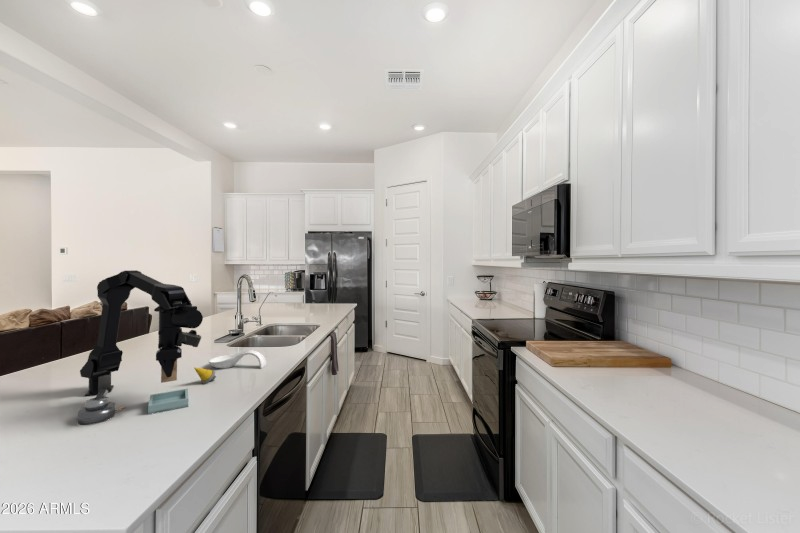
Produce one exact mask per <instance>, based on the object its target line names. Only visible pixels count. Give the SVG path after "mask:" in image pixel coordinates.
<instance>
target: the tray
mask: <svg viewBox="0 0 800 533" xmlns="http://www.w3.org/2000/svg"><path fill="white" fill-rule="evenodd" d="M188 407H189V389H188V388H182V389H176V390H170V391H165V392H164V391H163V392H160V393H153V394H150V395H149V399H148V407H147V415H148V414H149V415H152V413H154V414H158V413H157V412H159V413H163V411H164V412H168V411H173V410H179V409H183V408H188Z"/></svg>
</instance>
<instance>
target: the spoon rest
mask: <svg viewBox="0 0 800 533" xmlns="http://www.w3.org/2000/svg"><path fill="white" fill-rule="evenodd" d="M247 355H250V356H253V357H256V359H257V360H258V362H259V369H264V367H266V366H267V361H266V360H267V359H266V358H265V356H264V355H263V354H262V353H260V352H258V351H256V350H252V349H251V350H245V351H242V352H239V353H233V354H225V355H219V356H216V357H213V358H211V359H209V360H208V363H209V365H211V367H212V368H213V367H214V368H217V369H229V368H233V367H234V366H235V365H236V364H237V363H239V361H241V359H242V358H243V357H244V356H247Z"/></svg>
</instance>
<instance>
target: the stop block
mask: <svg viewBox="0 0 800 533" xmlns="http://www.w3.org/2000/svg"><path fill="white" fill-rule="evenodd" d="M160 367H161V366H160ZM160 371H161V373H160V383H168V382H174V381H175V382H176V381H178V359H177V360H176V361H175V363H174V367H173V371H172V375H171V377H167V376H166V375H165V373H164V371H163V369H162V367H161V369H160Z"/></svg>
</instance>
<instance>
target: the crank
mask: <svg viewBox="0 0 800 533" xmlns="http://www.w3.org/2000/svg"><path fill="white" fill-rule="evenodd" d="M111 385H112V374H111V375H104V376H100V377H98V391H99V392H98V394H96V396H95V397H93V398H89V399H87V400H86V401H85V402H84V407H85V410H86V411H93V410H98V409H102V408H104V407H107V406H108V405H109V402H110V401H109V399H110V398H109V397H108V396H107V394H108V393H109V392H108V390H110V389H111Z"/></svg>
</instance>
